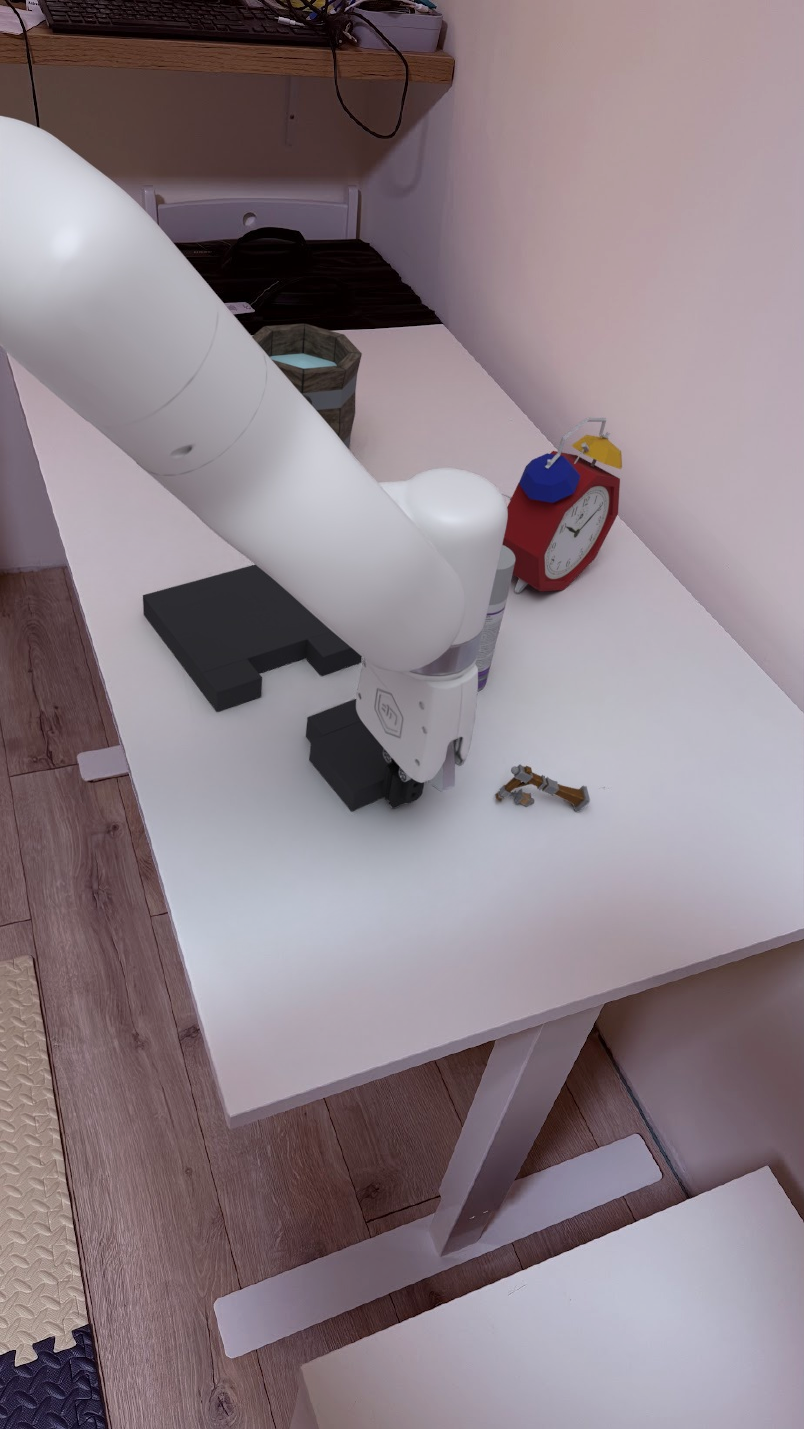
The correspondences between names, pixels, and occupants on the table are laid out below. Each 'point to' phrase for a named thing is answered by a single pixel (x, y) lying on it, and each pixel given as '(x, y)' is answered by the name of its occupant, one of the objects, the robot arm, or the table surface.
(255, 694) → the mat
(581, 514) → the alarm clock
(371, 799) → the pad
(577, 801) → the brown jointed two-tone fixture
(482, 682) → the container
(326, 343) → the mug
